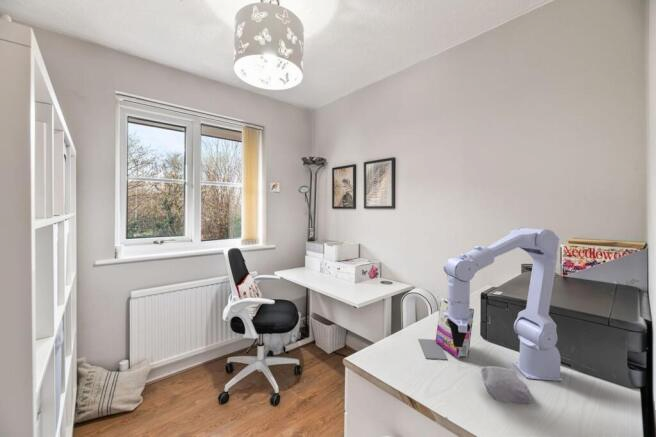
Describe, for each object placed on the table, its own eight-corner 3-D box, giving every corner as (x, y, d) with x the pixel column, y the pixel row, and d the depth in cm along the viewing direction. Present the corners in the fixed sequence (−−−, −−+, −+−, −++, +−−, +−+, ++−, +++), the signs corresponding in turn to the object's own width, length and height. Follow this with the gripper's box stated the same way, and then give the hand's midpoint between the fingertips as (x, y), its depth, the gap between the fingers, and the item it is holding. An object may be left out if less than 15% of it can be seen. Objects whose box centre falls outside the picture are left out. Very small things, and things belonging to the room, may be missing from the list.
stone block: (493, 408, 72) (535, 406, 70) (489, 390, 72) (531, 387, 70) (477, 381, 84) (513, 378, 82) (474, 365, 84) (510, 362, 82)
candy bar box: (469, 357, 92) (475, 309, 92) (457, 358, 91) (463, 309, 91) (445, 341, 103) (451, 298, 103) (434, 342, 102) (439, 298, 101)
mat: (437, 340, 104) (437, 339, 104) (447, 360, 91) (447, 359, 91) (418, 339, 105) (418, 338, 105) (425, 358, 92) (425, 357, 92)
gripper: (440, 291, 87) (440, 332, 88) (447, 307, 73) (446, 357, 74) (465, 292, 85) (464, 335, 86) (476, 310, 72) (475, 361, 72)
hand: (457, 345), depth 80 cm, fingers closed
